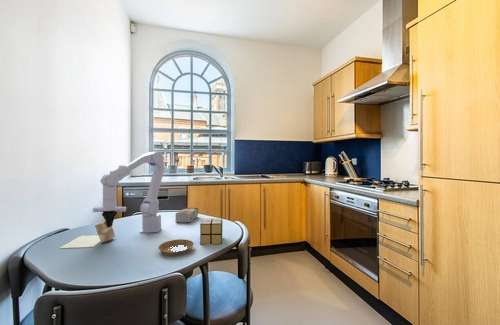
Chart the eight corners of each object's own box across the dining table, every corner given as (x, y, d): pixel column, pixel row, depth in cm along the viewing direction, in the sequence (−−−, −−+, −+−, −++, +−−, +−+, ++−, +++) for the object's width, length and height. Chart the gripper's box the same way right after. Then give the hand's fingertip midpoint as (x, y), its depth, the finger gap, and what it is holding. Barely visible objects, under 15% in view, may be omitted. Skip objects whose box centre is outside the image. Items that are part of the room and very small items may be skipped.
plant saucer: (171, 261, 91) (171, 255, 91) (151, 252, 100) (151, 246, 100) (200, 249, 103) (200, 244, 103) (180, 242, 111) (180, 237, 111)
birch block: (115, 236, 116) (109, 219, 115) (109, 240, 110) (103, 222, 109) (107, 238, 115) (101, 222, 115) (101, 243, 109) (94, 225, 109)
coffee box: (175, 212, 144) (185, 207, 160) (175, 222, 144) (185, 216, 160) (189, 213, 143) (198, 207, 159) (189, 223, 143) (198, 216, 159)
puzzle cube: (202, 237, 118) (202, 218, 117) (222, 237, 118) (222, 218, 118) (200, 245, 108) (200, 223, 107) (221, 244, 108) (221, 223, 108)
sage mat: (109, 235, 120) (109, 234, 120) (93, 247, 104) (93, 246, 104) (80, 236, 118) (80, 235, 118) (59, 248, 102) (59, 248, 102)
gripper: (89, 200, 107) (89, 229, 107) (122, 199, 109) (122, 228, 109) (96, 197, 114) (97, 225, 114) (128, 197, 116) (128, 224, 116)
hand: (109, 226), depth 112 cm, fingers closed
